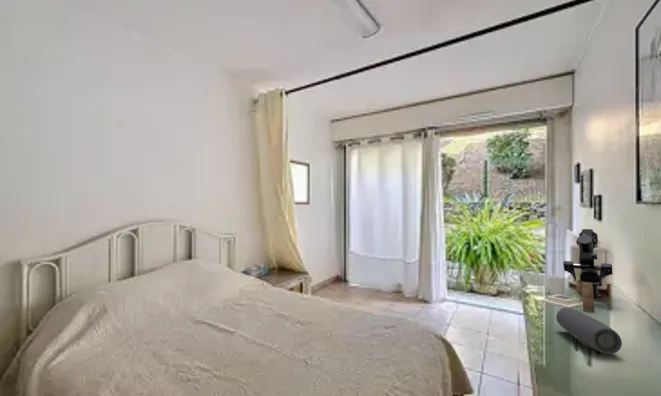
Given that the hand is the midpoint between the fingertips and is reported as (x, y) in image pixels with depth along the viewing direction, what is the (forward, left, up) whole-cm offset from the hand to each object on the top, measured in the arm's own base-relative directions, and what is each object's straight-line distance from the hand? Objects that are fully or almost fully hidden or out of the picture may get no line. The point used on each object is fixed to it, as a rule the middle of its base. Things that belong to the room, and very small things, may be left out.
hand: (587, 281), depth 149 cm
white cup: (-11, -22, -13) cm, 28 cm away
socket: (+3, -10, -13) cm, 16 cm away
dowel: (+6, +3, -13) cm, 14 cm away
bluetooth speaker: (+46, +24, -13) cm, 53 cm away
